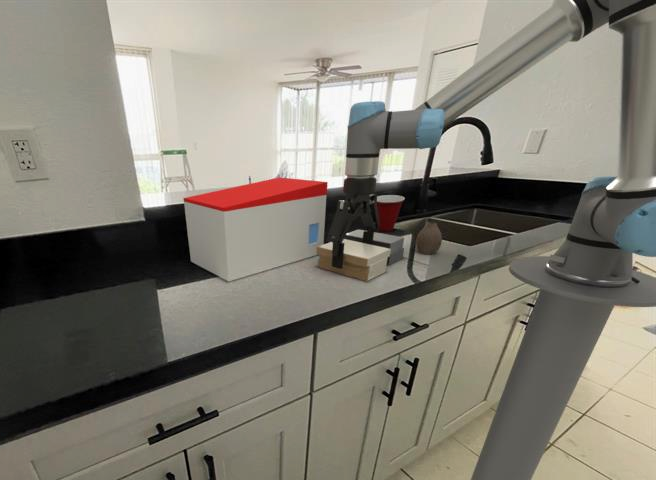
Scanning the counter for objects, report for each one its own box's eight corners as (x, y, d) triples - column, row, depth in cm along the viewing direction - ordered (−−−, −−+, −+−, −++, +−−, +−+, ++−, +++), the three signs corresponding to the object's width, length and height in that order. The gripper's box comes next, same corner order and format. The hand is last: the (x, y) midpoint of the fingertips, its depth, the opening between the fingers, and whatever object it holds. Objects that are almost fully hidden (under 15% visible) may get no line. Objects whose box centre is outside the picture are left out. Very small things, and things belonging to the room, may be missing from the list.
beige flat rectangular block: (389, 256, 87) (391, 248, 86) (366, 267, 80) (367, 259, 79) (341, 245, 97) (341, 238, 96) (316, 253, 90) (316, 246, 89)
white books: (385, 272, 87) (387, 257, 86) (367, 281, 82) (368, 266, 80) (337, 259, 98) (338, 246, 96) (318, 266, 92) (318, 253, 91)
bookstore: (323, 252, 103) (328, 182, 94) (228, 281, 84) (222, 196, 76) (279, 239, 118) (279, 177, 109) (190, 261, 99) (182, 188, 91)
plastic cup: (363, 229, 128) (367, 197, 123) (380, 225, 134) (384, 194, 129) (388, 234, 120) (393, 200, 115) (405, 229, 126) (411, 197, 121)
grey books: (403, 258, 97) (406, 237, 95) (388, 265, 92) (391, 244, 89) (357, 247, 108) (359, 229, 105) (341, 253, 102) (343, 234, 100)
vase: (427, 257, 97) (433, 227, 94) (409, 250, 103) (413, 222, 99) (444, 253, 100) (451, 224, 96) (426, 247, 105) (431, 219, 102)
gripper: (373, 171, 90) (365, 248, 99) (314, 180, 75) (311, 269, 84) (400, 173, 85) (389, 253, 94) (343, 182, 70) (335, 277, 79)
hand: (352, 261), depth 89 cm, fingers open, 13 cm apart
